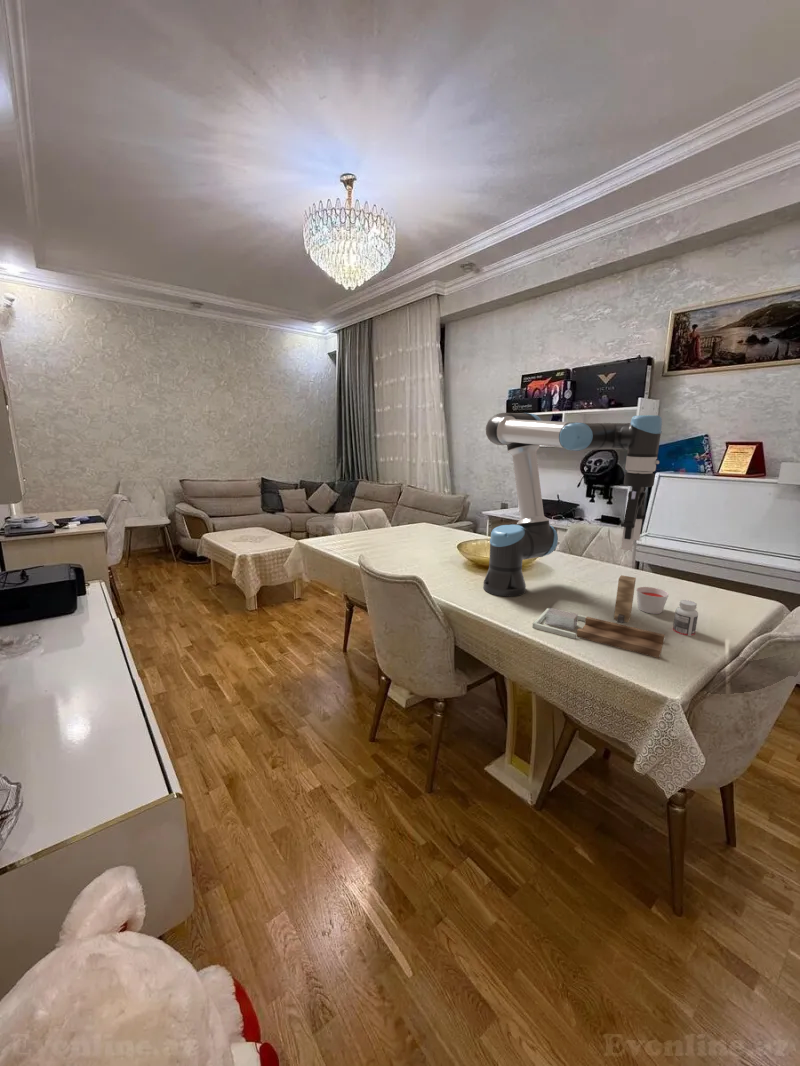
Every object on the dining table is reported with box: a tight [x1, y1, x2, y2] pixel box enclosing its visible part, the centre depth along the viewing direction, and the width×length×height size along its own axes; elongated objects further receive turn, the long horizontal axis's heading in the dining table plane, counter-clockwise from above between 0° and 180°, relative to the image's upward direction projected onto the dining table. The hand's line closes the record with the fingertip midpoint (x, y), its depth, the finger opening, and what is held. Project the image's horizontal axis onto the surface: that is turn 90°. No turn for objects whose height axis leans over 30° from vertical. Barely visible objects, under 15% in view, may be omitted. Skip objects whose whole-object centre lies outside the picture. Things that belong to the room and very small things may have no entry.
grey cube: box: [544, 607, 565, 628], centre depth 128 cm, size 4×4×4 cm
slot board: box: [576, 616, 665, 659], centre depth 119 cm, size 20×11×3 cm, turn 54°
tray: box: [531, 607, 587, 640], centre depth 128 cm, size 12×14×2 cm
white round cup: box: [636, 586, 670, 615], centre depth 139 cm, size 9×9×6 cm
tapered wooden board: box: [613, 574, 637, 624], centre depth 130 cm, size 4×7×14 cm, turn 144°
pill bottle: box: [672, 599, 699, 636], centre depth 122 cm, size 5×5×10 cm
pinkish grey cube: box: [558, 610, 579, 632], centre depth 126 cm, size 4×4×4 cm
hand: (630, 544), depth 126 cm, fingers open, 13 cm apart
